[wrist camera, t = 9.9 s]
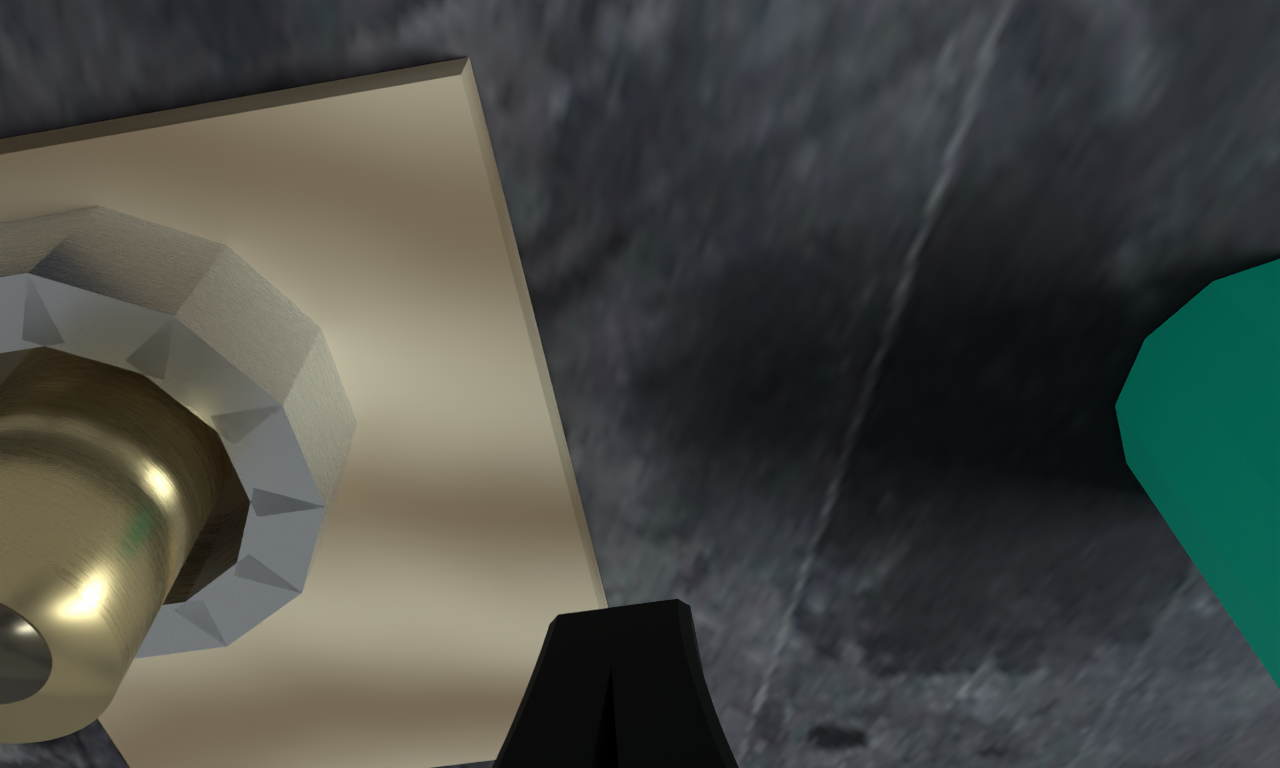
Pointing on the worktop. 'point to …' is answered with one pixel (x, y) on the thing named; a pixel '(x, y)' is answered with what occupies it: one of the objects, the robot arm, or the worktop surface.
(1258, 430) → the candle
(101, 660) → the brass sleeve
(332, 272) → the jig plate
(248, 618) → the bore collar
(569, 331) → the worktop surface
